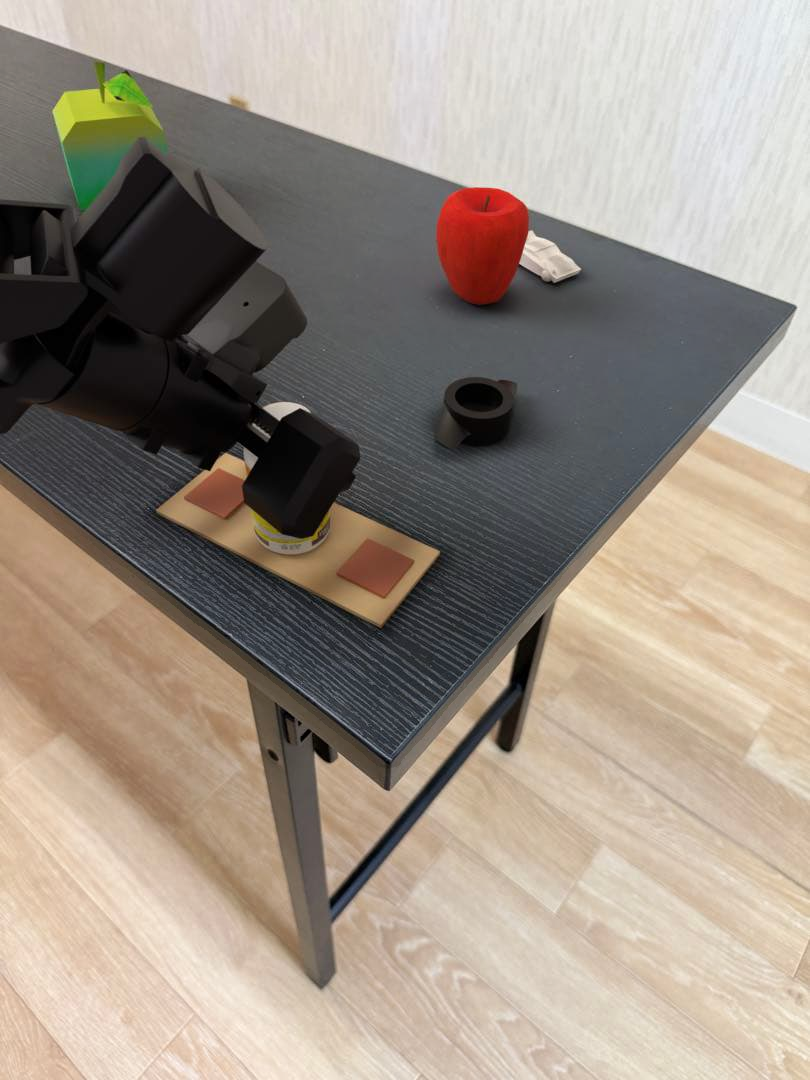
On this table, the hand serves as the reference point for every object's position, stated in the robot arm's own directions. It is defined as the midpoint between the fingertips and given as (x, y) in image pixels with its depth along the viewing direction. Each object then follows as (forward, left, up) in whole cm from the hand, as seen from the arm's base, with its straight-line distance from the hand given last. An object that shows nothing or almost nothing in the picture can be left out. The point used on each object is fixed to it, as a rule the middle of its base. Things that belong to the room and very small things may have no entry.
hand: (305, 448), depth 55 cm
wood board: (0, -1, -7) cm, 7 cm away
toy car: (-2, +47, -8) cm, 47 cm away
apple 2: (-5, +37, -8) cm, 38 cm away
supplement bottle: (0, -2, -7) cm, 7 cm away
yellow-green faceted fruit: (-51, +33, -8) cm, 61 cm away
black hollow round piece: (+5, +18, -8) cm, 20 cm away
